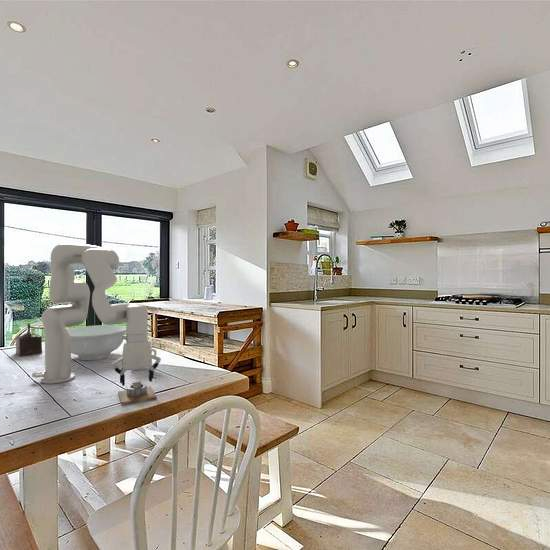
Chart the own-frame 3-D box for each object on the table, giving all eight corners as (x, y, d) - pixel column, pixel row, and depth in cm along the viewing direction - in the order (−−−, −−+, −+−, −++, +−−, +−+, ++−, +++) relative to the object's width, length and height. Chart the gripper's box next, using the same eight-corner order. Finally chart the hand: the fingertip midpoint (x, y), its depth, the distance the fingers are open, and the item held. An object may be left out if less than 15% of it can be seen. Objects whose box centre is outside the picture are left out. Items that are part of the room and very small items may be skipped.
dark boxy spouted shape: (19, 357, 183) (19, 323, 183) (15, 353, 191) (15, 320, 190) (53, 352, 195) (53, 320, 194) (48, 348, 202) (47, 317, 202)
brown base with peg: (121, 405, 123) (121, 389, 123) (118, 394, 133) (118, 379, 133) (156, 399, 129) (156, 384, 128) (150, 388, 139) (150, 375, 139)
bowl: (69, 351, 197) (69, 325, 197) (130, 347, 206) (130, 323, 206) (50, 367, 166) (49, 337, 166) (123, 362, 175) (123, 334, 175)
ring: (127, 398, 126) (128, 390, 126) (125, 392, 132) (125, 384, 132) (148, 395, 130) (148, 387, 129) (145, 389, 136) (145, 381, 136)
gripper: (112, 341, 123) (112, 389, 123) (162, 337, 131) (162, 382, 132) (110, 337, 129) (111, 383, 130) (158, 333, 138) (158, 376, 138)
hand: (137, 382), depth 131 cm, fingers open, 9 cm apart
